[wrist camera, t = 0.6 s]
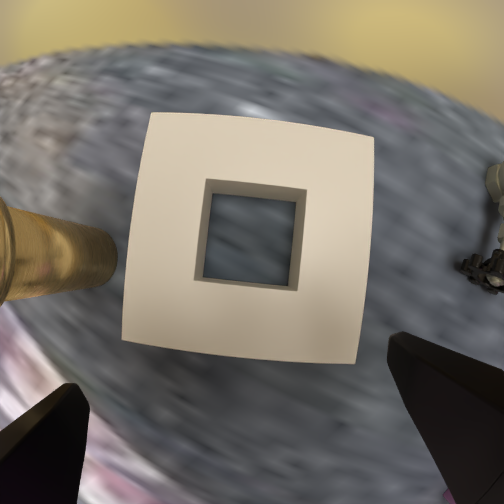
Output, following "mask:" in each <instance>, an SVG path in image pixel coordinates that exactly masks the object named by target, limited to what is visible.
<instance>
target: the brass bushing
mask: <svg viewBox="0 0 504 504" xmlns="http://www.w3.org/2000/svg"><path fill="white" fill-rule="evenodd" d="M116 266H117V249H116V246H115V243H114V241H113V239H112V238H111V237H110V235H109V234H108V233H106V232H105V231H103V230H102V229H99V228H95V227H91V226H86V225H82V224H78V223H74V222H70V221H65V220H61V219H57V218H53V217H49V216H45V215H41V214H36V213H32V212H28V211H24V210H20V209H16V208H12V207H8V206H6V204H5V202H4V201H3V199H2V198H1V197H0V307H1V305H2V304H3V302H4V301H11V300H17V299H23V298H30V297H36V296H42V295H49V294H55V293H61V292H67V291H73V290H80V289H86V288H92V287H97V286H101V285H103V284H105V283H106V282H107V281H108V280H109V279H110V278H111V277H112V275H113V273H114V271H115V269H116Z"/></svg>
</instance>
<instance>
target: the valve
mask: <svg viewBox="0 0 504 504" xmlns="http://www.w3.org/2000/svg"><path fill="white" fill-rule="evenodd" d="M485 186H486V188H487V190H488V192H489V194H490V196H491V198H492V200H493V202H496V203H499V208H498V211H499V213H500V214H501V216H502V217H503V220H504V161H503V162H502V164H496V165H494V166H491V167H489V168H488V171H487V176H486V181H485ZM497 238H498V241H499V243H500V248H499V249H495V250H493V253H492V257H491V258H489V259H487V260H486V261H485V262H484V263H481V262H482V258H483V257H482V256H480V255H478V254H472V256H471V259H470V260H469V259H464V260H463V263H462V266H461V269H460V271H461V272H462V273H463V274H465V275H468V276H470V277H469V282H471V283H472V284H475V285H479V284H482V285H484V286H486V287H488V288H487V291H488V292H489V293H491V294H494V295H497V294H498V292H501V293H504V223H503V224H501V225H500V229H499V233H498V237H497ZM469 261H470V262H469ZM486 274H487V277H486Z"/></svg>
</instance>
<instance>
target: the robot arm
mask: <svg viewBox="0 0 504 504" xmlns="http://www.w3.org/2000/svg"><path fill="white" fill-rule="evenodd" d="M387 363H388V366H389V369H390V371H391V373H392V376H393V378H394V380H395V383H396V385H397V388H398V390H399V392H400V395H401V397H402V400H403V402H404V404H405V407H406V409H407V411H408V413H409V414H410V416H411V418H412V420H413V422H414V423H415V425H416V427H417V429H418V431H419V433H420V434H421V436H422V438H423V440H424V442H425V444H426V446H427V448H428V449H429V451H430V453H431V455H432V457H433V459H434V461H435V463H436V465H437V467H438V469H439V471H440V473H441V475H442V477H443V479H444V481H445V483H446V485H447V487H448V489H449V491H450V493H451V495H452V497H453V499H454V501H455V503H456V504H504V371H503V370H502V369H499V368H497V367H494V366H491V365H489V364H486V363H484V362H481V361H478V360H476V359H473V358H471V357H468V356H465V355H463V354H460V353H458V352H455V351H452V350H450V349H447V348H445V347H442V346H440V345H437V344H435V343H432V342H429V341H427V340H424V339H422V338H419V337H417V336H414V335H412V334H409V333H407V332H404V331H402V332H398V333H395V334H392V335H391V336H390V337H389V342H388V352H387ZM89 414H90V406H89V403H88V401H87V399H86V398H85V396H84V394H83V392H82V391H81V389H80V387H79V386H78V385H77V384H75V383H65V384H63V385H61V386H60V387H59V388H57V389H56V390H55V391H53V392H52V393H51V394H49V395H48V396H47V397H45V398H44V399H43V400H41V401H40V402H39V403H37V404H36V405H35V406H33V407H32V408H31V409H29V410H28V411H27V412H25V413H24V414H23V415H21V416H20V417H19V418H17V419H16V420H15V421H13V422H12V423H11V424H9V425H8V426H7V427H5V428H4V429H3V430H1V431H0V504H77V499H78V492H79V485H80V479H81V473H82V468H83V462H84V457H85V451H86V442H87V431H88V422H89Z"/></svg>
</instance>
